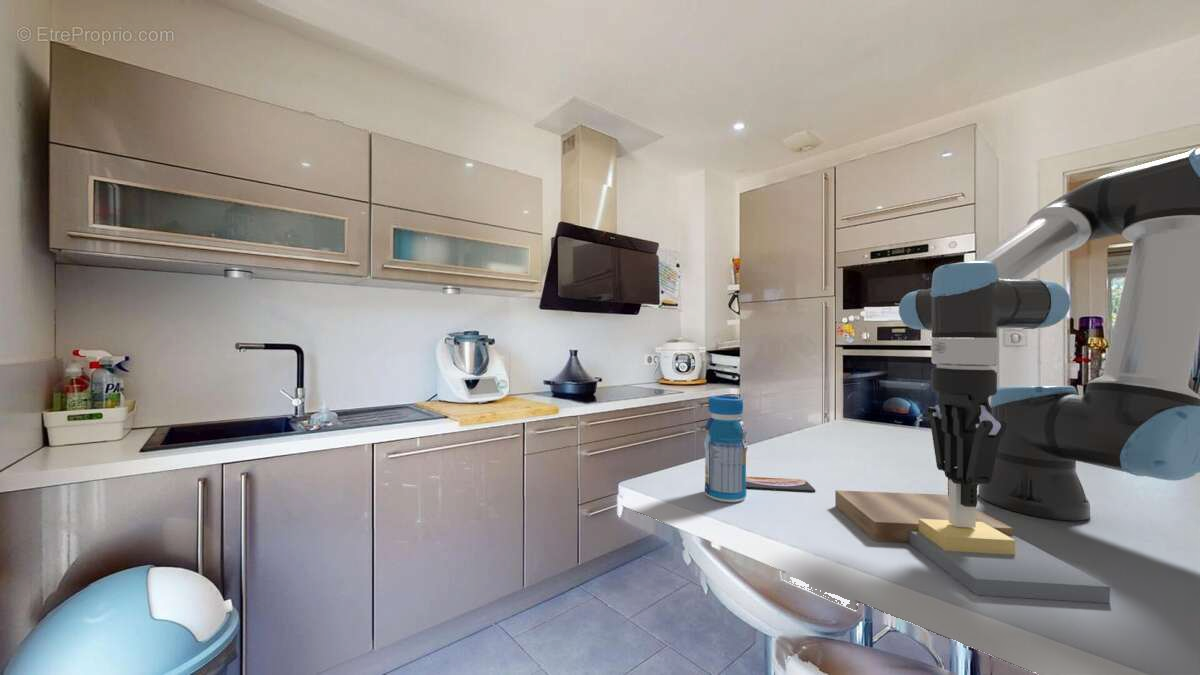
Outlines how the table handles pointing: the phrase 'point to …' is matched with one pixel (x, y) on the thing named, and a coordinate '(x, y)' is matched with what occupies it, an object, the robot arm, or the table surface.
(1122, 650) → the table surface
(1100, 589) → the mat
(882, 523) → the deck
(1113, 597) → the table surface
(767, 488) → the smartphone
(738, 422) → the beverage bottle
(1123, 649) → the table surface
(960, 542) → the tile
